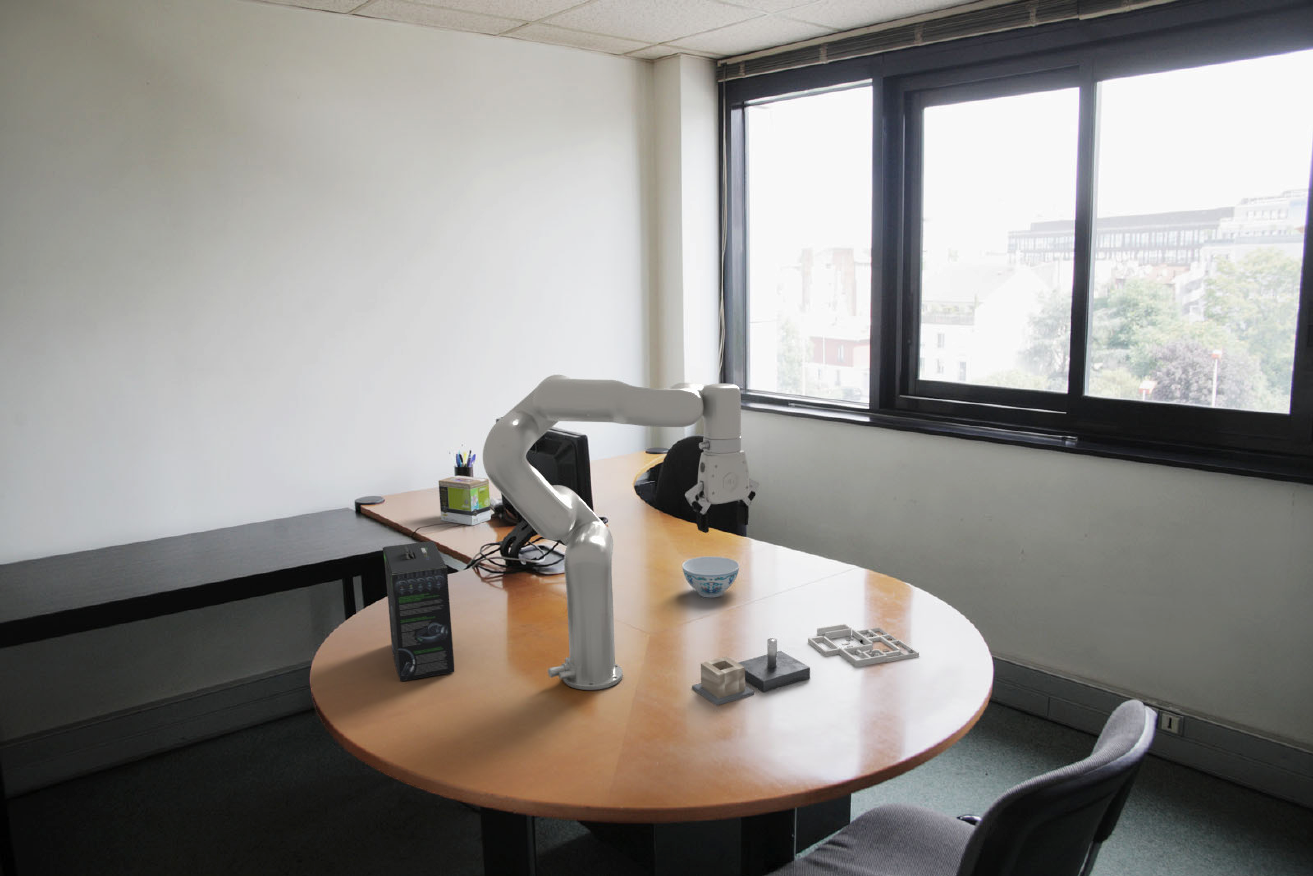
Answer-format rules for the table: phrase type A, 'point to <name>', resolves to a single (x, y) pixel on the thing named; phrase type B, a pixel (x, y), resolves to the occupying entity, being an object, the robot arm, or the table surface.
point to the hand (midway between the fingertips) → (723, 527)
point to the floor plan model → (863, 650)
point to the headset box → (419, 610)
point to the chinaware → (710, 574)
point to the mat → (724, 699)
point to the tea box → (464, 500)
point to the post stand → (774, 669)
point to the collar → (722, 677)
